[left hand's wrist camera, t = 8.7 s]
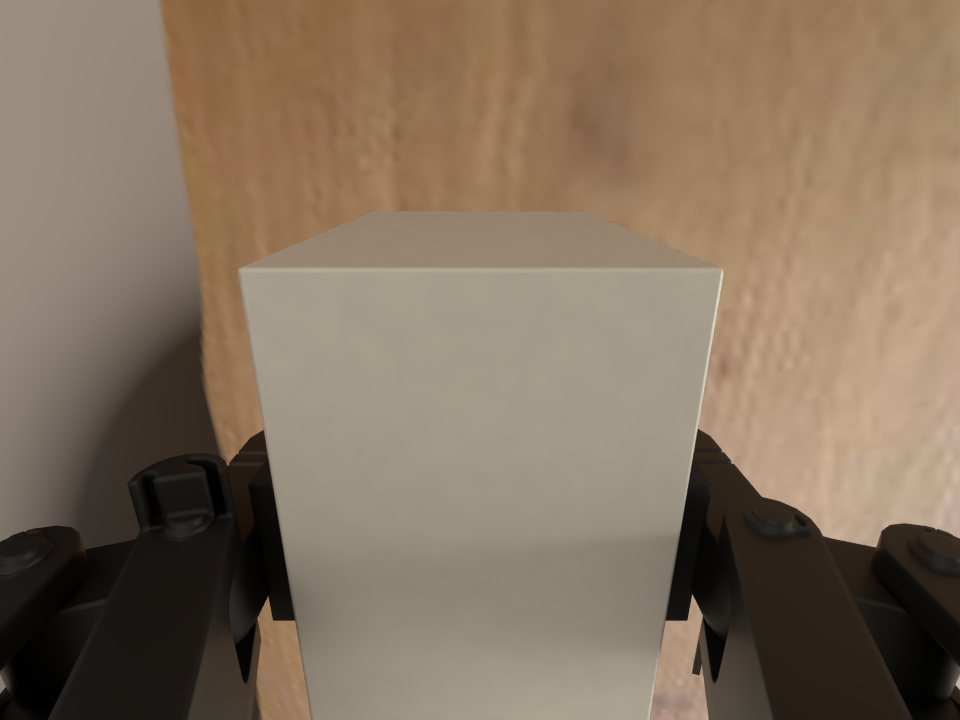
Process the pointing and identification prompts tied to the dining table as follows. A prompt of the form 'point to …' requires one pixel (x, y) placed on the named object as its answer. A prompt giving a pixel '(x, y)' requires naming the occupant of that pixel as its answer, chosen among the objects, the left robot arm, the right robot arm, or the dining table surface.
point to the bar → (480, 457)
